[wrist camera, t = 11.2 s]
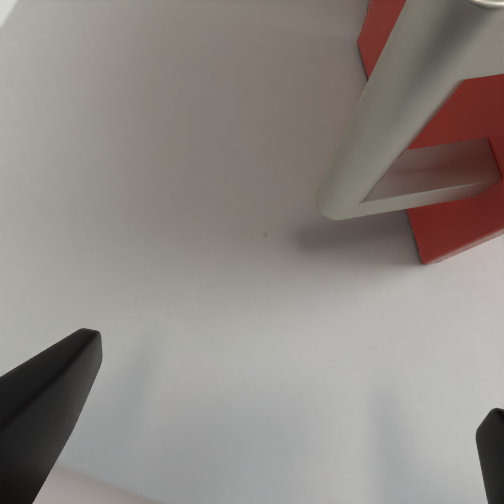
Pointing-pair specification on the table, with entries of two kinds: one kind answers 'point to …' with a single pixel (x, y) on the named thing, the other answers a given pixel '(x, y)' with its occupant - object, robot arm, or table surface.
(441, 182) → the red cabinet door
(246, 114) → the table surface
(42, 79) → the table surface
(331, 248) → the table surface
